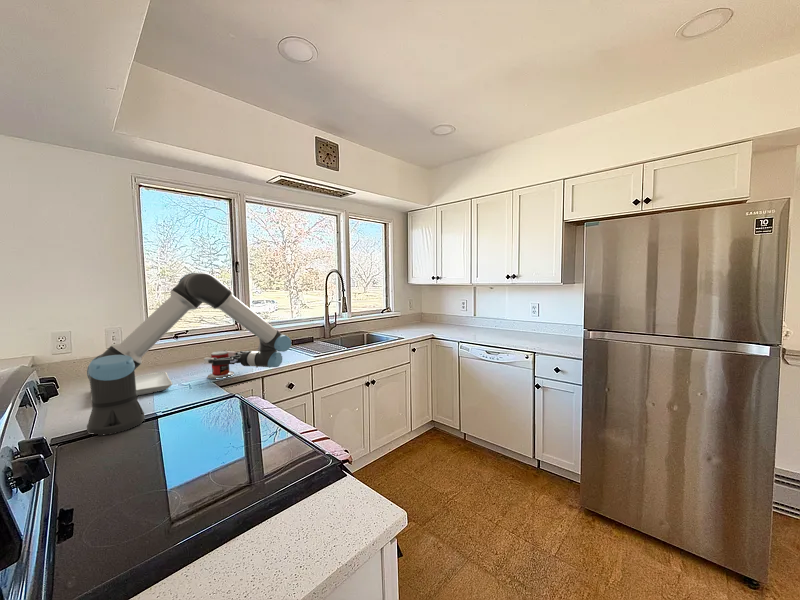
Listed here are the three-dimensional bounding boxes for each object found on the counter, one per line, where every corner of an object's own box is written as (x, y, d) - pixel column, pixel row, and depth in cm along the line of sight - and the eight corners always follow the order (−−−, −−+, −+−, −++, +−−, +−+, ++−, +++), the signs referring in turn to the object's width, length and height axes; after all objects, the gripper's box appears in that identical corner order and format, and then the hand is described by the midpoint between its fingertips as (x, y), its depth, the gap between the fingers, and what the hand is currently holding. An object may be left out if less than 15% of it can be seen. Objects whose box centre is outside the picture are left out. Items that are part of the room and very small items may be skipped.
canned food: (222, 376, 168) (221, 354, 167) (208, 375, 170) (207, 353, 169) (233, 371, 176) (231, 350, 175) (219, 371, 177) (218, 350, 176)
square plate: (94, 390, 155) (93, 382, 155) (166, 378, 172) (166, 370, 172) (91, 407, 134) (90, 398, 134) (173, 391, 152) (172, 382, 151)
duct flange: (222, 380, 166) (222, 377, 166) (202, 378, 168) (201, 376, 168) (239, 373, 177) (239, 370, 177) (220, 372, 180) (219, 369, 180)
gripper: (234, 373, 156) (195, 371, 161) (267, 359, 180) (232, 358, 185) (233, 357, 156) (194, 355, 160) (266, 346, 180) (232, 345, 185)
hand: (215, 357), depth 173 cm, fingers open, 13 cm apart
